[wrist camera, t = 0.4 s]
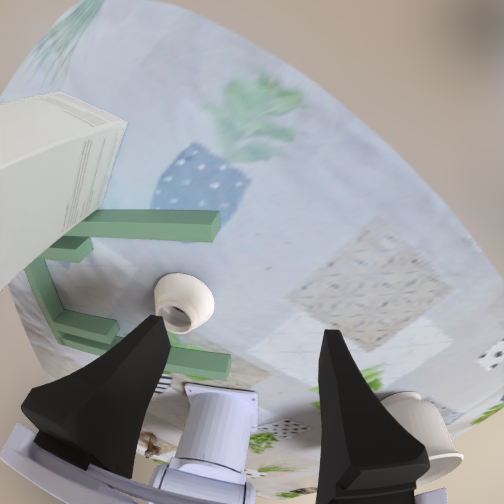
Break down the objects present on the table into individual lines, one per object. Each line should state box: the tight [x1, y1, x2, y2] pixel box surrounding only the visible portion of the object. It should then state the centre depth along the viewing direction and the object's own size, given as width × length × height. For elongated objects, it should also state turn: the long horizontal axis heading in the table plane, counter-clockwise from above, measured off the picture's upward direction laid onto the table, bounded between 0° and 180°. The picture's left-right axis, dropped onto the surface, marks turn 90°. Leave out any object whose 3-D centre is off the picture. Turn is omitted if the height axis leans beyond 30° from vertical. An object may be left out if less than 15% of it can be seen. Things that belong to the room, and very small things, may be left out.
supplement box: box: [0, 92, 128, 292], centre depth 13 cm, size 7×7×13 cm
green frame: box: [24, 210, 231, 381], centre depth 21 cm, size 15×20×8 cm
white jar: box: [154, 273, 215, 334], centre depth 23 cm, size 5×3×5 cm
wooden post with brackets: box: [144, 434, 161, 458], centre depth 41 cm, size 2×8×4 cm, turn 168°
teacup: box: [380, 392, 464, 487], centre depth 25 cm, size 12×15×10 cm
